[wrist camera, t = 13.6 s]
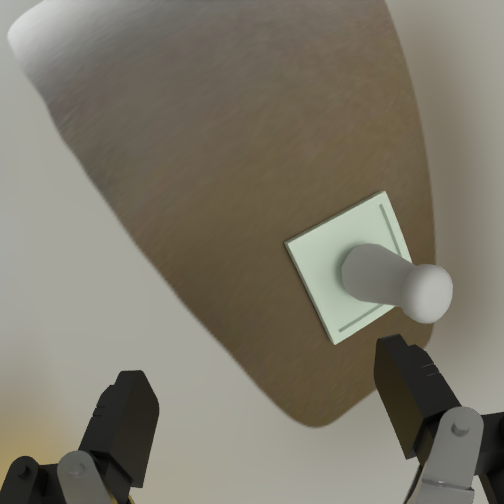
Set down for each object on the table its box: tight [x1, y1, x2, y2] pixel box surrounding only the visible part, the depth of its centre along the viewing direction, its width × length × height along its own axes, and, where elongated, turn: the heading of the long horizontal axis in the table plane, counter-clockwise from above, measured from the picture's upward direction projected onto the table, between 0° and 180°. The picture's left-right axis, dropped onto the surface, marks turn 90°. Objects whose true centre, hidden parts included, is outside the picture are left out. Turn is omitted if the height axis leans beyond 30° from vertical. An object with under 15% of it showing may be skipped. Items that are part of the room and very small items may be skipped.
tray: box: [284, 191, 412, 345], centre depth 32 cm, size 12×12×2 cm
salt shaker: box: [341, 243, 453, 323], centre depth 25 cm, size 6×6×13 cm
